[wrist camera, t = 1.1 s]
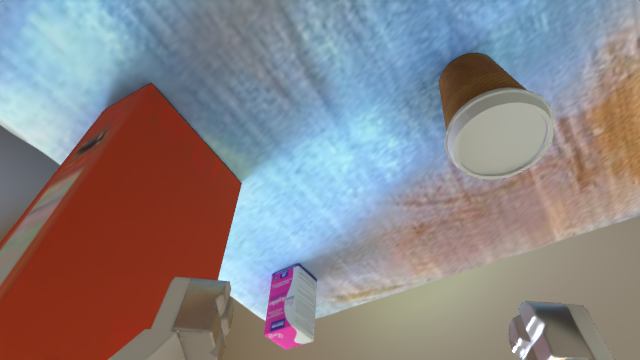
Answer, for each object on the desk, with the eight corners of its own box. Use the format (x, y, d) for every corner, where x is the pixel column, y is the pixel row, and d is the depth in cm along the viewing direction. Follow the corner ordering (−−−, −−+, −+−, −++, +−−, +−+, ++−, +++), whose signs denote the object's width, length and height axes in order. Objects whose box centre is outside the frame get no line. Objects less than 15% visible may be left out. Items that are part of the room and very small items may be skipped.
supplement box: (297, 261, 68) (293, 325, 59) (317, 279, 71) (316, 342, 62) (270, 272, 70) (262, 336, 61) (291, 289, 73) (286, 351, 65)
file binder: (196, 201, 58) (105, 464, 35) (102, 110, 48) (-118, 393, 25) (242, 182, 56) (177, 452, 32) (152, 82, 46) (-40, 367, 22)
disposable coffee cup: (507, 23, 41) (557, 80, 32) (516, 99, 47) (561, 166, 38) (415, 58, 43) (437, 120, 34) (434, 126, 49) (458, 194, 40)
